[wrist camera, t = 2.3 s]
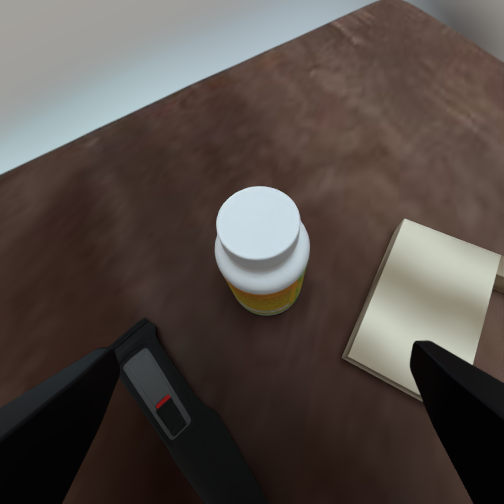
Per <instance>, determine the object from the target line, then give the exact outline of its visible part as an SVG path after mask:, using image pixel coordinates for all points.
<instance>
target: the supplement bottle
mask: <svg viewBox="0 0 504 504" xmlns="http://www.w3.org/2000/svg"><path fill="white" fill-rule="evenodd" d="M216 227H217V238H216V242H215V256H216V261H217V264H218V266H219V269H220V271H221V273H222V275H223V276H224V278H225V280H226V281H227V283H228V285H229V287H230V288H231V290H232V292H233V294H234V295H235V297H236V299H237V300H238V301H239V303H240V304H241V305H242V306H243V307H244V308H245V309H247V310H248V311H250V312H252V313H255V314H258V315H266V316H267V315H275V314H279V313H281V312H283V311H285V310H286V309H288V308H289V307H290V306H291V305H292V304H293V303H294V302H295V301H296V299H297V298H298V296H299V293H300V291H301V287H302V283H303V278H304V274H305V270H306V266H307V263H308V259H309V251H310V243H309V237H308V234H307V231H306V229H305V227H304V225H303V224H302V222H301V221H300V215H299V211H298V209H297V207H296V205H295V203H294V202H293V201H292V200H291V199H290V198H289V197H288V196H287V195H286V194H284V193H283V192H281V191H279V190H276V189H273V188H270V187H262V186H258V187H250V188H246V189H243V190H241V191H239V192H237V193H235V194H234V195H232V196H231V197H230V198H229V199H228V200H227V201H226V202H225V203H224V204H223V206H222V207H221V209H220V211H219V213H218V217H217V223H216Z"/></svg>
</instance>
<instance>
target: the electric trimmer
mask: <svg viewBox="0 0 504 504" xmlns="http://www.w3.org/2000/svg"><path fill="white" fill-rule="evenodd" d="M147 322H148V320H147V319H146V318H143V319H142V320H140V321H139V322H137V323H136V324H135V325H134V326H133V327H132V328H130V329H129V330H128V331H127V332H126V333H125V334H123V335H122V336H121V337H120V338H119V339H117V340H116V341H115V342H114V343H113V344H111V345H110V346H109V347H111V348H113V349H114V350H115V353H116V356H117V359H118V362H119V366H120V375H119V378H120V379H121V381H122V382H123V384H124V385H125V387H126V389H127V390H128V391H129V393H130V394H131V396H132V397H133V399H134V400H135V401H136V403H137V404H138V406H139V407H140V409H141V410H142V411H143V413H144V414H145V416H146V417H147V419H148V420H149V421H150V423H151V424H152V426H153V427H154V429H155V430H156V431H157V433H158V434H159V436H160V437H161V439H162V440H163V442H164V444H165V445H166V447H167V449H168V450H169V452H170V454H171V456H172V458H173V460H174V461H175V463H176V464H177V465H178V467H179V468H180V470H181V471H182V473H183V474H184V476H185V477H186V478H187V480H188V481H189V483H190V484H191V485H192V487H193V488H194V490H195V491H196V492H197V494H198V495H199V497H200V498H201V499H202V501H203V502H204V504H268V502H267V500H266V498H265V496H264V494H263V492H262V491H261V489H260V487H259V485H258V483H257V482H256V480H255V478H254V476H253V474H252V473H251V471H250V469H249V467H248V466H247V464H246V462H245V460H244V458H243V457H242V455H241V453H240V451H239V450H238V448H237V446H236V444H235V442H234V441H233V439H232V437H231V435H230V434H229V432H228V430H227V429H226V427H225V425H224V424H223V422H222V420H221V419H220V417H219V415H218V414H217V413H216V412H215V411H214V410H212V409H210V408H209V407H207V406H205V405H204V404H203V403H202V402H201V401H200V400H199V399H198V398H197V397H196V396H195V395H194V393H193V392H192V390H191V389H190V388H189V386H188V385H187V383H186V382H185V380H184V379H183V377H182V376H181V375H180V373H179V372H178V370H177V369H176V367H175V366H174V364H173V363H172V362H171V360H170V359H169V357H168V356H167V354H166V353H165V351H164V349H163V348H162V346H161V345H160V343H159V341H158V339H157V337H156V327H155V325H154V323H149V322H148V323H147ZM139 328H140V329H139ZM132 334H133V335H132ZM119 345H120V346H119Z"/></svg>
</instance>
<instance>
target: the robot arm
mask: <svg viewBox="0 0 504 504" xmlns="http://www.w3.org/2000/svg"><path fill="white" fill-rule="evenodd" d="M410 370H411V373H412V376H413V378H414V381H415V383H416V386H417V388H418V390H419V393H420V395H421V398H422V400H423V403H424V405H425V408H426V410H427V413H428V415H429V418H430V420H431V422H432V424H433V427H434V429H435V431H436V433H437V435H438V437H439V439H440V441H441V442H442V444H443V446H444V448H445V450H446V452H447V454H448V456H449V458H450V460H451V462H452V463H453V465H454V467H455V469H456V471H457V473H458V475H459V477H460V479H461V481H462V483H463V484H464V486H465V488H466V490H467V492H468V494H469V496H470V498H471V500H472V502H473V504H504V383H503V382H501V381H499V380H498V379H496V378H494V377H492V376H491V375H489V374H487V373H485V372H484V371H482V370H480V369H479V368H477V367H475V366H473V365H472V364H470V363H468V362H467V361H465V360H463V359H461V358H460V357H458V356H456V355H455V354H453V353H451V352H449V351H448V350H446V349H444V348H442V347H441V346H439V345H437V344H436V343H434V342H432V341H429V340H417V341H415V342H414V343H413V346H412V351H411V357H410ZM119 375H120V366H119V362H118V359H117V356H116V353H115V350H114V349H113V348H111V347H101V348H98V349H96V350H94V351H93V352H91V353H89V354H88V355H86V356H84V357H83V358H81V359H80V360H78V361H76V362H75V363H73V364H71V365H70V366H68V367H66V368H65V369H63V370H62V371H60V372H58V373H57V374H55V375H53V376H52V377H50V378H48V379H47V380H45V381H44V382H42V383H40V384H39V385H37V386H35V387H34V388H32V389H31V390H29V391H27V392H26V393H24V394H22V395H21V396H19V397H17V398H16V399H14V400H13V401H11V402H9V403H8V404H6V405H4V406H3V407H1V408H0V504H62V503H63V501H64V499H65V496H66V494H67V492H68V490H69V488H70V486H71V484H72V482H73V480H74V478H75V476H76V474H77V472H78V470H79V468H80V466H81V464H82V462H83V460H84V458H85V456H86V454H87V452H88V450H89V448H90V445H91V443H92V441H93V439H94V437H95V435H96V433H97V431H98V429H99V427H100V424H101V422H102V420H103V417H104V415H105V412H106V409H107V407H108V404H109V402H110V399H111V396H112V394H113V391H114V388H115V386H116V383H117V381H118V378H119Z"/></svg>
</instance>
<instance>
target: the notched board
mask: <svg viewBox="0 0 504 504" xmlns="http://www.w3.org/2000/svg"><path fill="white" fill-rule="evenodd" d="M492 289H493V290H496V291H498V292H500V293H503V294H504V256H501V255H499V254H496V253H494V252H491V251H488V250H486V249H483V248H480V247H478V246H475V245H472V244H470V243H467V242H465V241H462V240H459V239H457V238H454V237H451V236H449V235H446V234H444V233H441V232H438V231H436V230H433V229H430V228H428V227H425V226H422V225H420V224H417V223H415V222H412V221H409V220H407V219H404V220H403V221H402V222H401V223H400V225H399V226H398V227H397V228H396V230H395V231H394V233H393V235H392V238H391V240H390V243H389V245H388V247H387V250H386V252H385V255H384V257H383V259H382V262H381V264H380V267H379V269H378V271H377V274H376V276H375V279H374V281H373V283H372V286H371V288H370V291H369V293H368V295H367V298H366V300H365V303H364V305H363V307H362V310H361V312H360V315H359V317H358V319H357V322H356V324H355V327H354V329H353V331H352V334H351V336H350V339H349V341H348V343H347V346H346V348H345V351H344V353H343V355H342V358H343V359H345V360H346V361H348V362H350V363H352V364H354V365H356V366H357V367H359V368H361V369H363V370H365V371H367V372H368V373H370V374H372V375H374V376H376V377H378V378H379V379H381V380H383V381H385V382H387V383H389V384H390V385H392V386H394V387H396V388H398V389H400V390H401V391H403V392H405V393H407V394H409V395H411V396H412V397H414V398H416V399H418V400H420V401H422V402H423V400H422V398H421V395H420V393H419V390H418V388H417V386H416V383H415V381H414V378H413V376H412V373H411V370H410V357H411V351H412V346H413V343H414V342H415V341H417V340H429V341H432V342H434V343H436V344H437V345H439V346H441V347H442V348H444V349H446V350H448V351H449V352H451V353H453V354H455V355H456V356H458V357H460V358H461V359H463V360H465V361H467V362H468V363H470V364H472V365H473V361H474V357H475V354H476V350H477V346H478V342H479V338H480V334H481V331H482V327H483V323H484V319H485V315H486V311H487V308H488V304H489V300H490V296H491V292H492Z"/></svg>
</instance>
